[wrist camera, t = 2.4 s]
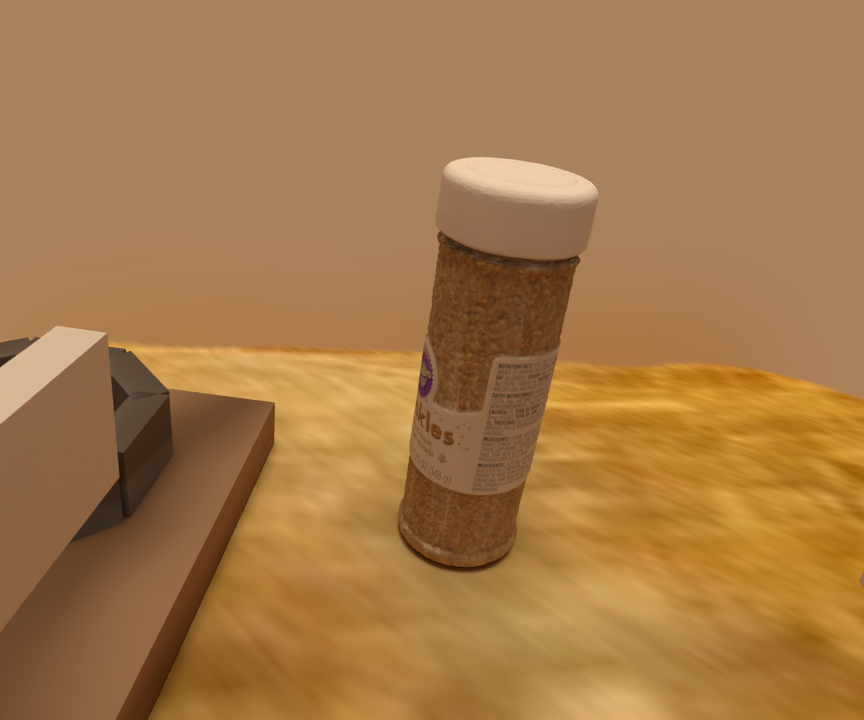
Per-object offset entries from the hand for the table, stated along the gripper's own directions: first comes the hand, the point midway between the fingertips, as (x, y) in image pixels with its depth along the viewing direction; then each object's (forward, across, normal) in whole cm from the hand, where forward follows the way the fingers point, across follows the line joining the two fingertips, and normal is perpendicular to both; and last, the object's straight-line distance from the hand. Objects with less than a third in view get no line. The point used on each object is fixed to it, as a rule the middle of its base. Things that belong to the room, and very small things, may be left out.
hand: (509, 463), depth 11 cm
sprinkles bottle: (+11, +1, -11) cm, 15 cm away
